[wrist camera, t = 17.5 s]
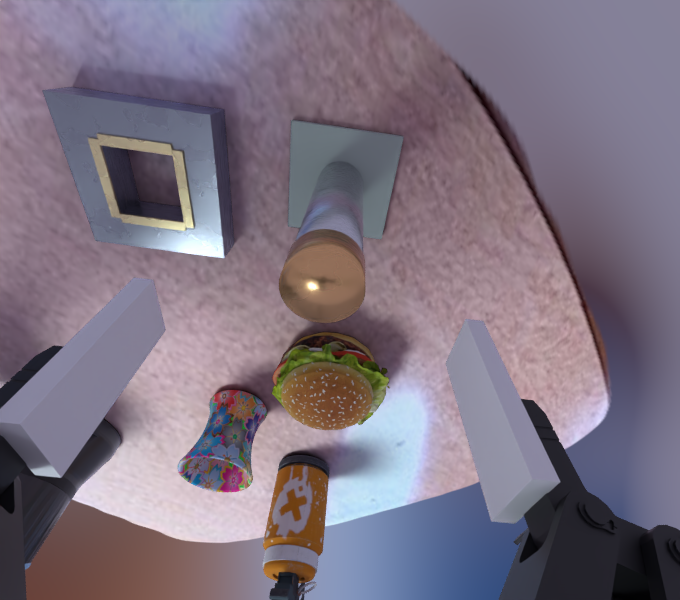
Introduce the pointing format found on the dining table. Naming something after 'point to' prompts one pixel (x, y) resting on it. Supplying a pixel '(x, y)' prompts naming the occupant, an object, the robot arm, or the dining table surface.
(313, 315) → the key peg
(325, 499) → the canister
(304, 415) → the food
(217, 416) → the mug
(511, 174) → the dining table surface
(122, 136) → the plate
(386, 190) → the rest pad
